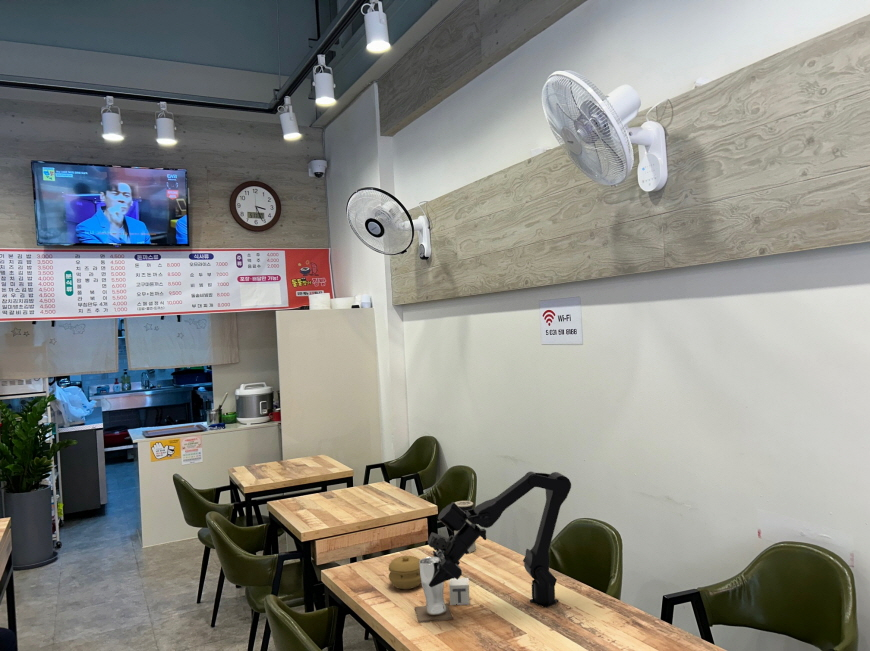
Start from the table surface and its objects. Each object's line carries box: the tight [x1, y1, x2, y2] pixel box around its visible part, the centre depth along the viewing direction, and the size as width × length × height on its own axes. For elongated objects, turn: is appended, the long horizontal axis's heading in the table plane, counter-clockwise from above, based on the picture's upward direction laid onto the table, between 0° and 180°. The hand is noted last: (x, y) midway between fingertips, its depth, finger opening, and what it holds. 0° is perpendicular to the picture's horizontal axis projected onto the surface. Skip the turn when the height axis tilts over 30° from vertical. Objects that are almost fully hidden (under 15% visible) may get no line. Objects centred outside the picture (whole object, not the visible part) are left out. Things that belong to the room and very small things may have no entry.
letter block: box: [448, 577, 470, 606], centre depth 201 cm, size 6×6×6 cm
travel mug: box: [453, 500, 476, 553], centre depth 249 cm, size 8×8×18 cm
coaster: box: [414, 603, 454, 624], centre depth 192 cm, size 10×10×1 cm
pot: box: [388, 555, 422, 590], centre depth 215 cm, size 12×12×10 cm
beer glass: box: [419, 556, 446, 615], centre depth 192 cm, size 7×7×15 cm
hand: (428, 581), depth 192 cm, fingers closed on beer glass, 7 cm apart
